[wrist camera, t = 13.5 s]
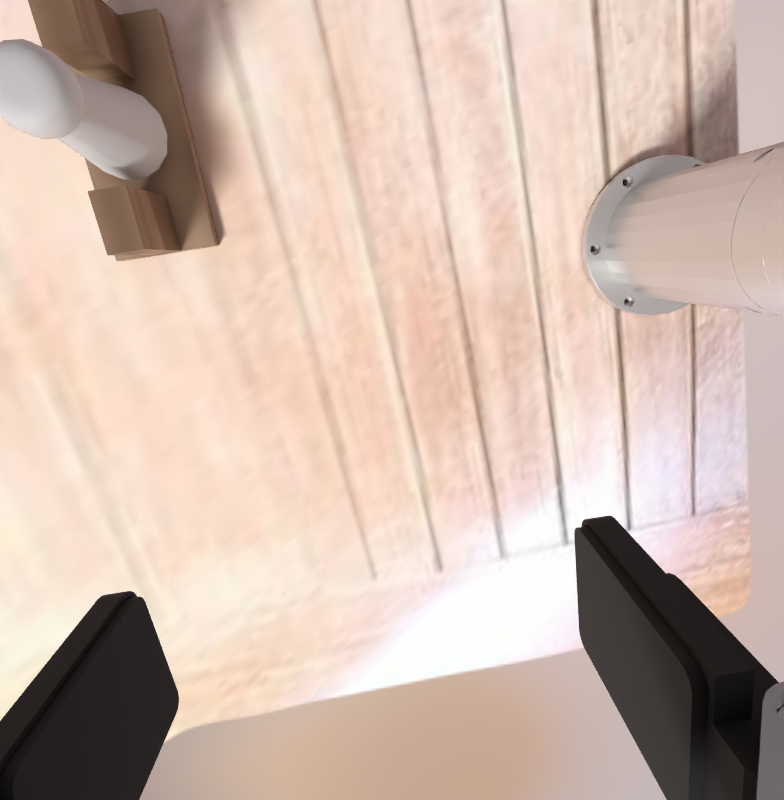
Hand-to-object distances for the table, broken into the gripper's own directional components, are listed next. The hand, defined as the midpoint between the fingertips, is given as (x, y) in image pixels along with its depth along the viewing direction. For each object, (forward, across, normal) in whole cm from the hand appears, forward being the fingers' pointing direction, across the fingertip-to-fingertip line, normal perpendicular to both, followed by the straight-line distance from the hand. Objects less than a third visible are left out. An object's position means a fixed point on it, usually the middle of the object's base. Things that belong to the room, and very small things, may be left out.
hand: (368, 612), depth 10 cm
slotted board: (+33, +15, -18) cm, 41 cm away
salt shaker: (+32, +15, -18) cm, 40 cm away
